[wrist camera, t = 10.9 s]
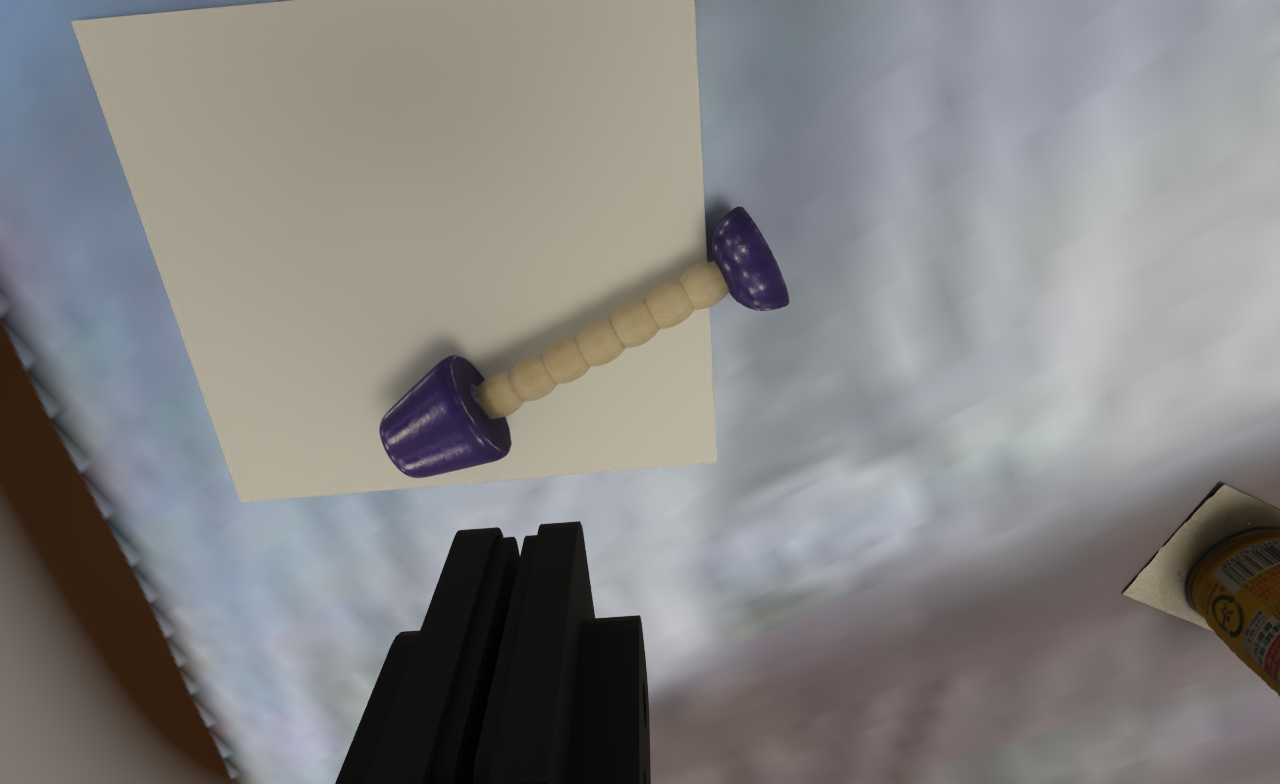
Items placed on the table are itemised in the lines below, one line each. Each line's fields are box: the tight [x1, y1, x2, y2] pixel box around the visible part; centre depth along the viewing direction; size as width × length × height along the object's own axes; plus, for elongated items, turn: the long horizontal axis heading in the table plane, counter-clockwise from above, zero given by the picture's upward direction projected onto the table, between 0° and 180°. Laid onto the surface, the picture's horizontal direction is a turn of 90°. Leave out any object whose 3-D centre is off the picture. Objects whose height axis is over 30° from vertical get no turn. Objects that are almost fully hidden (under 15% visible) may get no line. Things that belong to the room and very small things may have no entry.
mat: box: [71, 0, 717, 503], centre depth 31 cm, size 20×22×1 cm
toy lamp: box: [379, 207, 789, 478], centre depth 30 cm, size 5×5×17 cm
